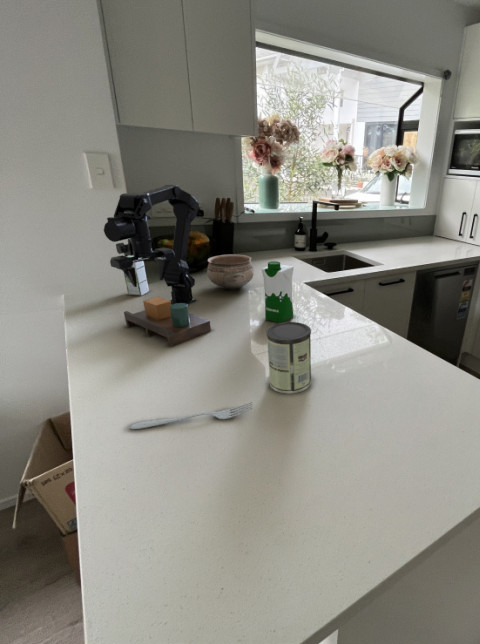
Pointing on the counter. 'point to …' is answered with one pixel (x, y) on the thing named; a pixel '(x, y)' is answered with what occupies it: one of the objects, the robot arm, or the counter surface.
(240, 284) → the cooking pot
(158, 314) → the kraft box
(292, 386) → the coffee can
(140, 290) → the syrup box
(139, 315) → the shelf
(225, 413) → the fork
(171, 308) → the tea tin
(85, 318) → the counter surface
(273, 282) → the milk carton
